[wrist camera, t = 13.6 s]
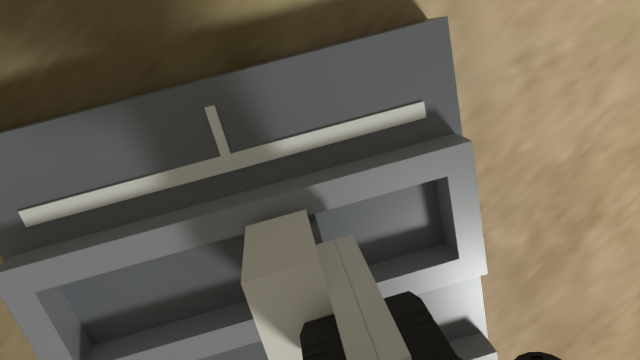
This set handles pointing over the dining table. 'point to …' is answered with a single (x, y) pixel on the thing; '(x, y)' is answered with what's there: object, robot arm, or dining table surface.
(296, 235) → the fader
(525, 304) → the dining table surface
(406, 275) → the grey flat slotted tray
